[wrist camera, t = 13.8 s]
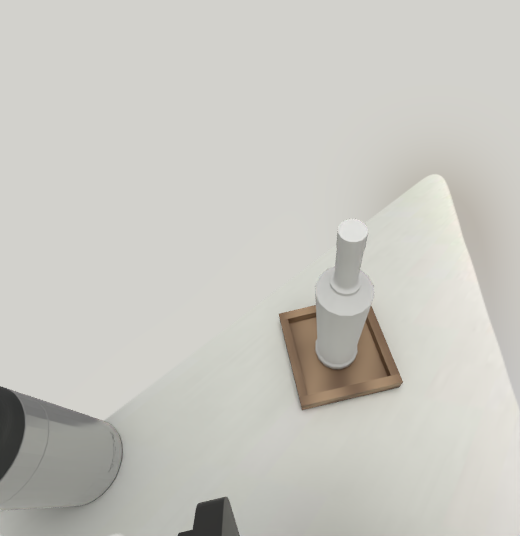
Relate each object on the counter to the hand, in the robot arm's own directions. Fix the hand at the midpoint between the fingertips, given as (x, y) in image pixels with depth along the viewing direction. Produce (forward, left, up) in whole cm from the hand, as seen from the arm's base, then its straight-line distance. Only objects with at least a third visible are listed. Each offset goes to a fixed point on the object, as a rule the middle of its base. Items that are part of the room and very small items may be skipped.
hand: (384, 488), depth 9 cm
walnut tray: (+5, +15, -35) cm, 38 cm away
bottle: (+5, +14, -34) cm, 37 cm away
